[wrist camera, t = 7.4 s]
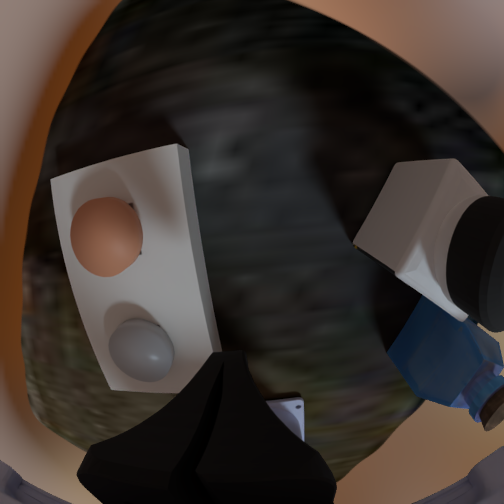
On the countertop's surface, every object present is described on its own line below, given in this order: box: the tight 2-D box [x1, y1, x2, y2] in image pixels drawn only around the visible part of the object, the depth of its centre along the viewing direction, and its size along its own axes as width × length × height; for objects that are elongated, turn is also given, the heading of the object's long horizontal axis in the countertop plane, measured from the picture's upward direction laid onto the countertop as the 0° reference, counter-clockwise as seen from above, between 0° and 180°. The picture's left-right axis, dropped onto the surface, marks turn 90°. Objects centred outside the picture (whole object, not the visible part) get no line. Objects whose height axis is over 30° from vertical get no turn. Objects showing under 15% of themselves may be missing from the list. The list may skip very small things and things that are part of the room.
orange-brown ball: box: [70, 197, 143, 277], centre depth 16 cm, size 4×4×4 cm
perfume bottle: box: [387, 295, 504, 431], centre depth 15 cm, size 6×6×12 cm
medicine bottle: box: [353, 159, 504, 332], centre depth 13 cm, size 7×7×12 cm
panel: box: [51, 144, 222, 393], centre depth 18 cm, size 17×10×3 cm, turn 7°
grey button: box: [108, 318, 175, 382], centre depth 18 cm, size 4×4×4 cm
